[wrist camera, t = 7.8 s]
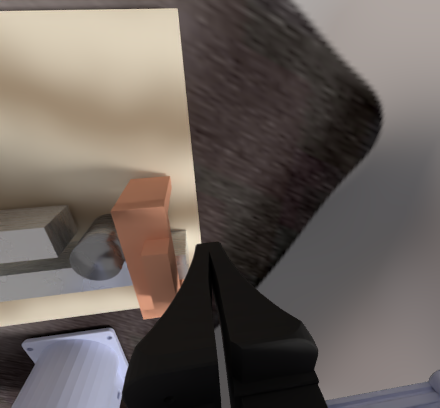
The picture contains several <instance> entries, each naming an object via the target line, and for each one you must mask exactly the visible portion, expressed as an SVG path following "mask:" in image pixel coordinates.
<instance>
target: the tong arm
mask: <svg viewBox="0 0 440 408" xmlns="http://www.w3.org/2000/svg"><path fill="white" fill-rule="evenodd" d="M77 232H78V230H77V228H76V225H75V223H74V220H73V218H72V215H71V212H70V210H69V207H68V205H58V206H47V207H35V208H23V209H11V210H0V264H1V263H10V262H20V261H29V260H39V259H48V258H58V257H59V256H60V254H61V253H62V252H63V250H64V249H65V248H66V246H67V245H68V244H69V242H70V241H71V240H72V239H73V237H74V236H75V235H76V233H77Z"/></svg>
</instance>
